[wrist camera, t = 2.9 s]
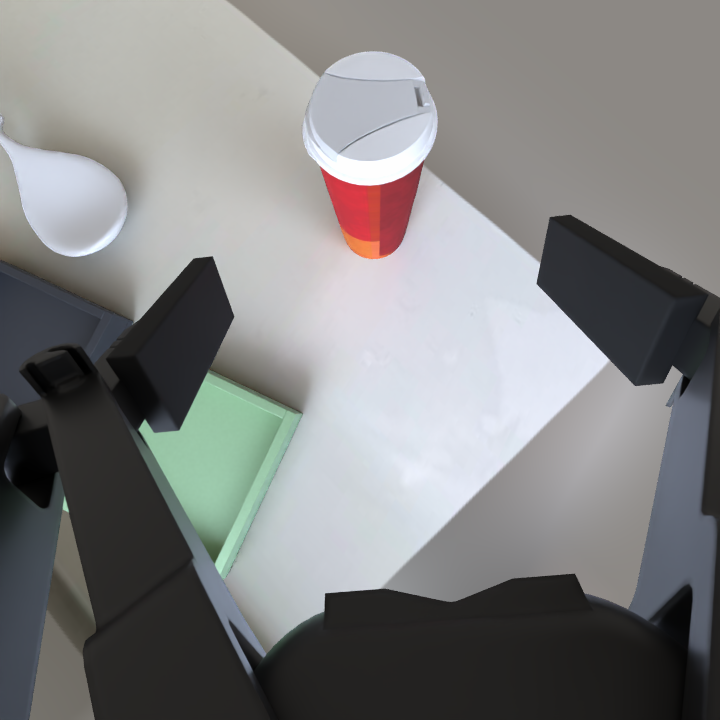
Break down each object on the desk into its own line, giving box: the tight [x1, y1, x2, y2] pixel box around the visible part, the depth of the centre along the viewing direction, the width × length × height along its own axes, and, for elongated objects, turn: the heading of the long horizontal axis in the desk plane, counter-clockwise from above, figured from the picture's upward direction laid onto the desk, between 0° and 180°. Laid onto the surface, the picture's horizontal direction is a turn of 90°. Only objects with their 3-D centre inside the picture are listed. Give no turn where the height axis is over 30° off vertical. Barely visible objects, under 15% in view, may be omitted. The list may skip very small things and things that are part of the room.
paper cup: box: [302, 51, 438, 259], centre depth 27 cm, size 8×8×14 cm
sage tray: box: [63, 370, 303, 579], centre depth 30 cm, size 15×15×3 cm
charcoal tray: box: [0, 260, 133, 406], centre depth 32 cm, size 15×15×3 cm
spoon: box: [0, 114, 128, 257], centre depth 35 cm, size 9×32×4 cm, turn 48°
